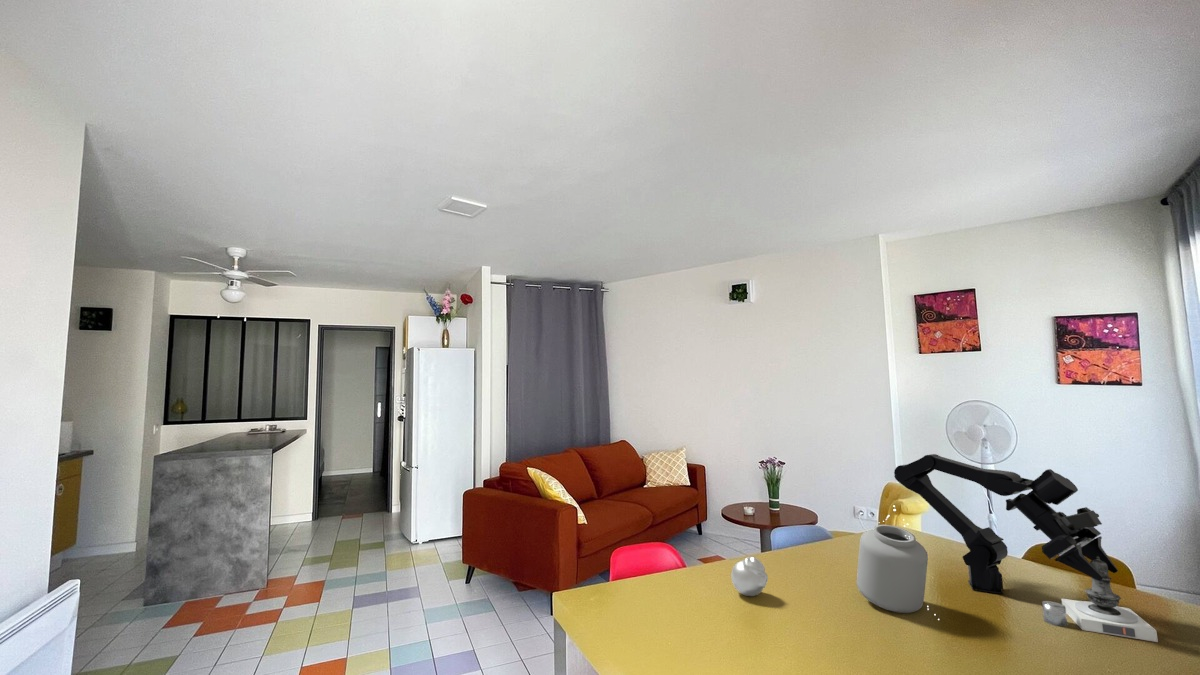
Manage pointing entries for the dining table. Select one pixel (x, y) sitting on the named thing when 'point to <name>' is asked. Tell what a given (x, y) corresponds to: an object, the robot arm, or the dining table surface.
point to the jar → (892, 569)
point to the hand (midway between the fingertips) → (1109, 575)
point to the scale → (1109, 621)
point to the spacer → (1054, 613)
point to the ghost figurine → (749, 576)
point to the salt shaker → (1102, 591)
